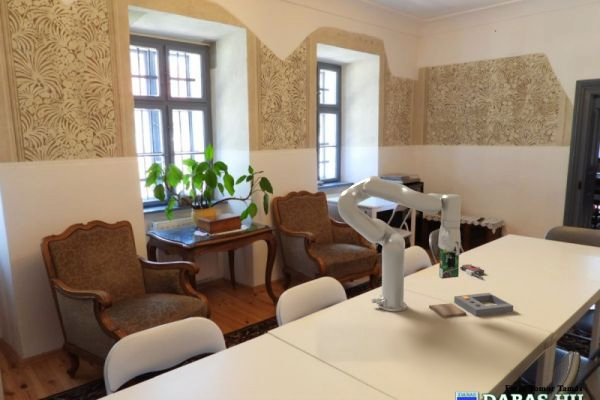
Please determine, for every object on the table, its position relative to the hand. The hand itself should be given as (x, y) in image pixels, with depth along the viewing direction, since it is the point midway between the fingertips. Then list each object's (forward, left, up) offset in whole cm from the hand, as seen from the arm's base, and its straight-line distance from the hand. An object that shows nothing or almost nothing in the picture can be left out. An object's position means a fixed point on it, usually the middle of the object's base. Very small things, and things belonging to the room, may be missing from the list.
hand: (448, 265), depth 180 cm
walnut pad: (0, 0, -21) cm, 21 cm away
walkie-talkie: (+43, +42, -21) cm, 64 cm away
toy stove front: (+18, 0, -21) cm, 27 cm away
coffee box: (0, 0, -5) cm, 5 cm away
